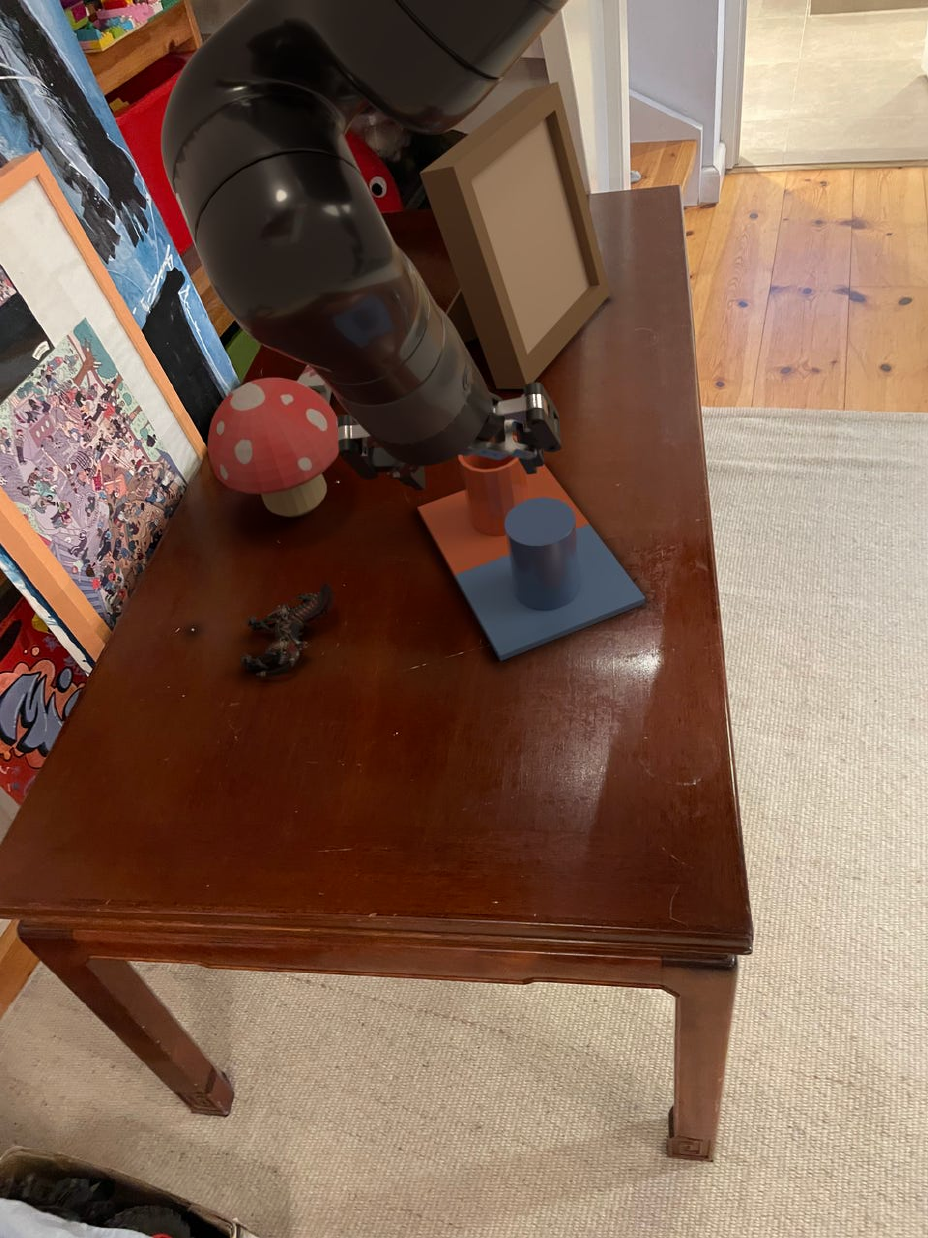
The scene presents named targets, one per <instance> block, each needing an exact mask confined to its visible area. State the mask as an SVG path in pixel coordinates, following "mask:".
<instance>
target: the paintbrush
mask: <svg viewBox="0 0 928 1238" xmlns="http://www.w3.org/2000/svg"><path fill="white" fill-rule="evenodd" d="M296 381H297V382H300V383H302V384H304V385H306V386H308V387H309V388H311V389H312V390H314V391H315V392H317V393H318V394H320V395H321V396H322V397H323V398H324V399H325V400H326V401H327V402H328V403H329V404H331V403H330V401H331V395H332V392H333V391H332V390H331V388H330V387H329V386H328V385H327V384H326V383H325V382H324V381H323V380H322V379H321V378H320V377H319V376H318V375H317V373H316V372H315V371H314V370H313V369H312V368H311V367H310V366H308V365H307V364H306V366H305V368H304V369H303V371H302V373H301V374H300V376H299V377H298V379H297V380H296Z"/></svg>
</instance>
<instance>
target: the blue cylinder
mask: <svg viewBox="0 0 928 1238" xmlns="http://www.w3.org/2000/svg"><path fill="white" fill-rule="evenodd" d="M504 527H505V534H506V540H507V547H508V553H509V560H510V566H511V573H512V579H513V586H514V592H515V595H516V597H517V598H518V600H519V601H520V602H521V603H522V604H524V605H525V606H527V607H529V608H532V609H536V610H554V609H558V608H561V607H563V606H565V605H567V604H568V603H570V602H571V601H572V600H573V599H574V598H575V597H576V596H577V594H578V592H579V589H580V573H579V559H578V545H577V531H576V518H575V514H574V511H573V510H572V509H571V507H570V506H569V505H567V504H566V503H564V502H562V501H560V500H557V499H554V498H545V497H542V498H533V499H529V500H526V501H524V502H521V503H519V504H518V505H516V506H515V507H514V508H512V509H511V510H510V511H509V513H508V514H507V516H506V518H505V522H504Z"/></svg>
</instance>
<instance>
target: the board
mask: <svg viewBox="0 0 928 1238" xmlns="http://www.w3.org/2000/svg"><path fill="white" fill-rule="evenodd" d="M526 475H527V473H526ZM527 483H528V492H529V499H533V498H542V497H545V498H554V499H557V500H560V501H562V502H564V503H566V504H567V505H569V506H570V507H571V509H572V510H573V511H574V514H575V518H576V531H577V545H578V559H579V573H580V589H579V592H578V594H577V596H576V597H575V598H574V599H573V600H572V601H571V602H570V603H568V604H567V605H565V606H563V607H561V608H558V609H554V610H536V609H532V608H529V607H527V606H525V605H524V604H522V603H521V602H520V601H519V600H518V598H517V597H516V595H515V592H514V586H513V579H512V573H511V566H510V560H509V553H508V547H507V540H506V535H503V536H491V535H486V534H483V533H481V532H479V531H478V530H476V529H475V528H474V527H473V525H472V523H471V520H470V517H469V512H468V507H467V501H466V496H465V491H464V489H463V490H461V491H458V492H455V493H453V494H450V495H447V496H444V497H441V498H439V499H436V500H434V501H431V502H428V503H425V504H423V505H420V506H417V511H418V514H419V516H420V518H421V520H422V521H423V524H424V525H425V527H426V528H427V530H428V533H429V534H430V537H431V538H432V539H433V542H434V543H435V545H436V547H437V549H438V550H439V552H440V554H441V556H442V558H443V560H444V561H445V563H446V566H448V569H449V570H450V572H451V575H452V576H453V578H454V580H455V581H456V583H457V585H458V587H459V589H460V590H461V593H462V594H463V596H464V599H465V600H466V602H467V603H468V605H469V607H470V609H471V611H472V613H473V614H474V616H475V618H476V620H477V622H478V623H479V625H480V626H481V629H482V631H483V633H484V634H485V636H486V638H487V640H488V642H489V644H490V645H491V648H492V649H493V651H494V652H495V655H496V656H497V658H498V660H499V661H500V662H502V661H505V660H508V659H510V658H513V657H515V656H517V655H520V654H523V653H525V652H528V651H531V650H533V649H535V648H537V647H540V646H543V645H545V644H548V643H550V642H552V641H555V640H558V639H560V638H563V637H565V636H567V635H570V634H573V633H575V632H578V631H581V630H582V629H586V628H589V627H590V626H593V625H595V624H598V623H600V622H603V621H606V620H608V619H611V618H613V617H615V616H618V615H621V614H624V613H626V612H628V611H631V610H633V609H636V608H638V607H640V606H643V605H645V604H646V596H645V595H644V594H643V593H642V591H641V590H640V589H639V588H638V586H637V585H636V583H635V582H634V581H633V579H631V577H630V575H628V573H627V572H626V570H625V569H624V568H623V566H622V565H621V564H620V562H619V561H618V560H617V558H616V557H615V556H614V555H613V553H612V552H611V550H610V549H609V548H608V547H607V545H606V544H605V543H604V541H603V540H602V539H601V537H600V536H599V535H598V533H597V532H596V531H595V529H594V528H593V526H592V525H591V524H590V523H589V521H588V520H587V518H586V517H585V516H584V515H583V513H582V511H580V509H579V508H578V507H577V506H576V504H575V503H574V501H573V500H572V499H571V498H570V496H569V495H568V493H567V492H566V491H565V489H564V488H563V487H562V486H561V484H560V483H559V481H557V479H556V478H555V476H554V475H553V473H551V471H550V470H549V468H548V467H547V465H545V464H544V465H543V466H541V467H537V473H535V474H528V475H527Z"/></svg>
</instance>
